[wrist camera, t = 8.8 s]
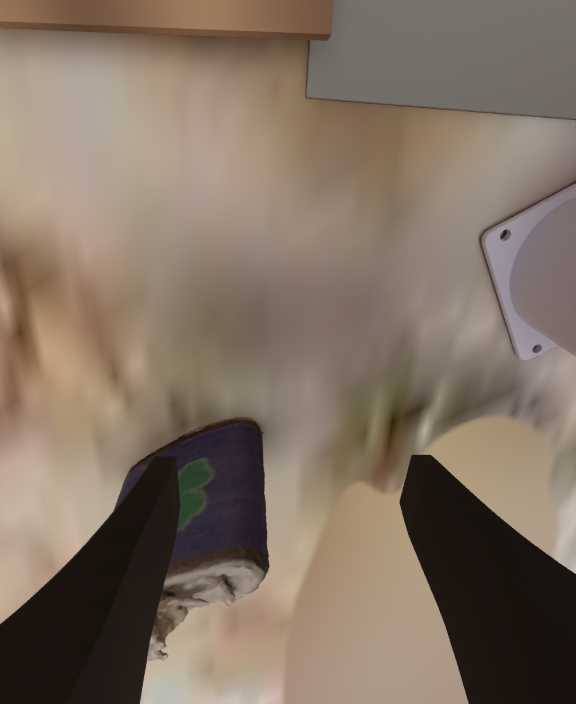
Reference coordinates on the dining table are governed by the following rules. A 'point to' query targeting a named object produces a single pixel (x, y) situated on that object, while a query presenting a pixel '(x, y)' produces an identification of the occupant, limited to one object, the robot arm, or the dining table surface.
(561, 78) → the mat
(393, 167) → the dining table surface
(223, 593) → the flask
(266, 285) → the dining table surface
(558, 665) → the robot arm
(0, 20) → the lid
